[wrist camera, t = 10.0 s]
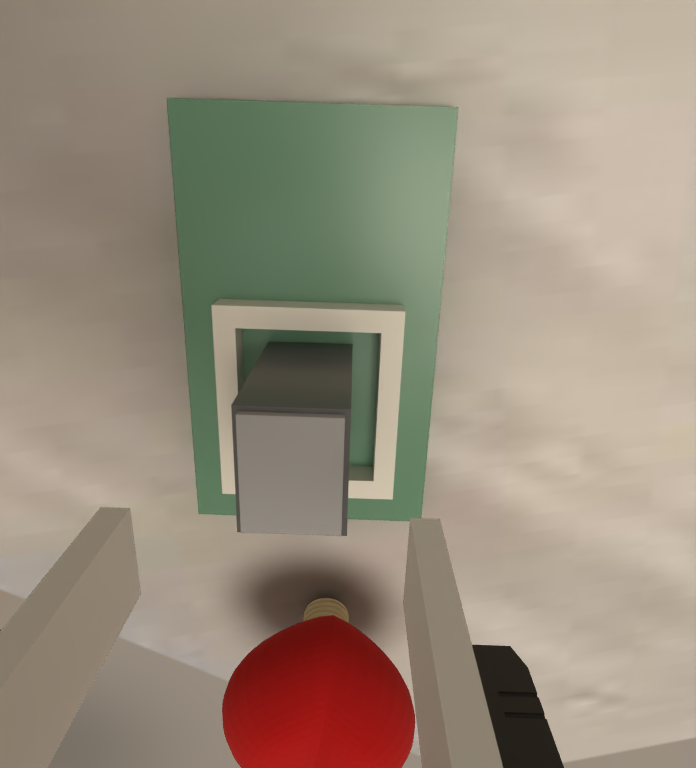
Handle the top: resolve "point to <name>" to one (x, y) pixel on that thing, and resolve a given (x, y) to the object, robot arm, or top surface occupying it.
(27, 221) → the top surface
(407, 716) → the light bulb
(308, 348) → the plug
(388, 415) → the board
